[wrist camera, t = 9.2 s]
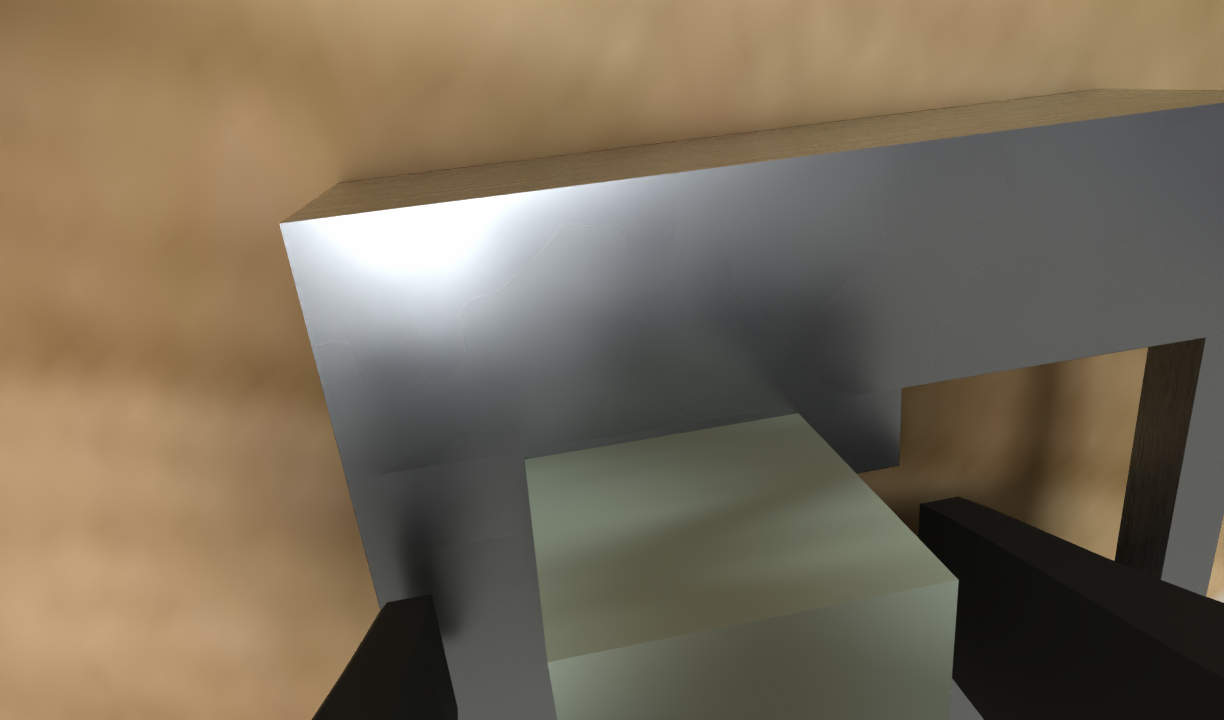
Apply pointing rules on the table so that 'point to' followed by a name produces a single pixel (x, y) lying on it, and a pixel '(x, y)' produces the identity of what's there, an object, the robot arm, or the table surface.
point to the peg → (734, 583)
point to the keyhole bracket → (754, 322)
